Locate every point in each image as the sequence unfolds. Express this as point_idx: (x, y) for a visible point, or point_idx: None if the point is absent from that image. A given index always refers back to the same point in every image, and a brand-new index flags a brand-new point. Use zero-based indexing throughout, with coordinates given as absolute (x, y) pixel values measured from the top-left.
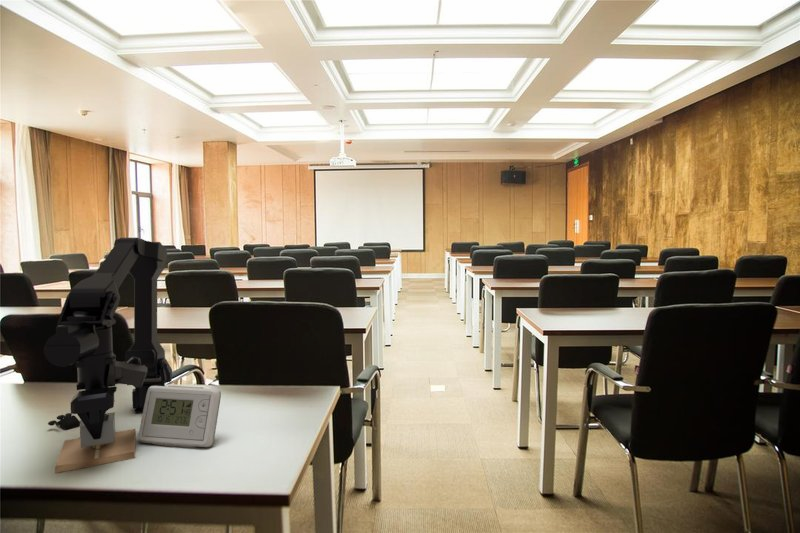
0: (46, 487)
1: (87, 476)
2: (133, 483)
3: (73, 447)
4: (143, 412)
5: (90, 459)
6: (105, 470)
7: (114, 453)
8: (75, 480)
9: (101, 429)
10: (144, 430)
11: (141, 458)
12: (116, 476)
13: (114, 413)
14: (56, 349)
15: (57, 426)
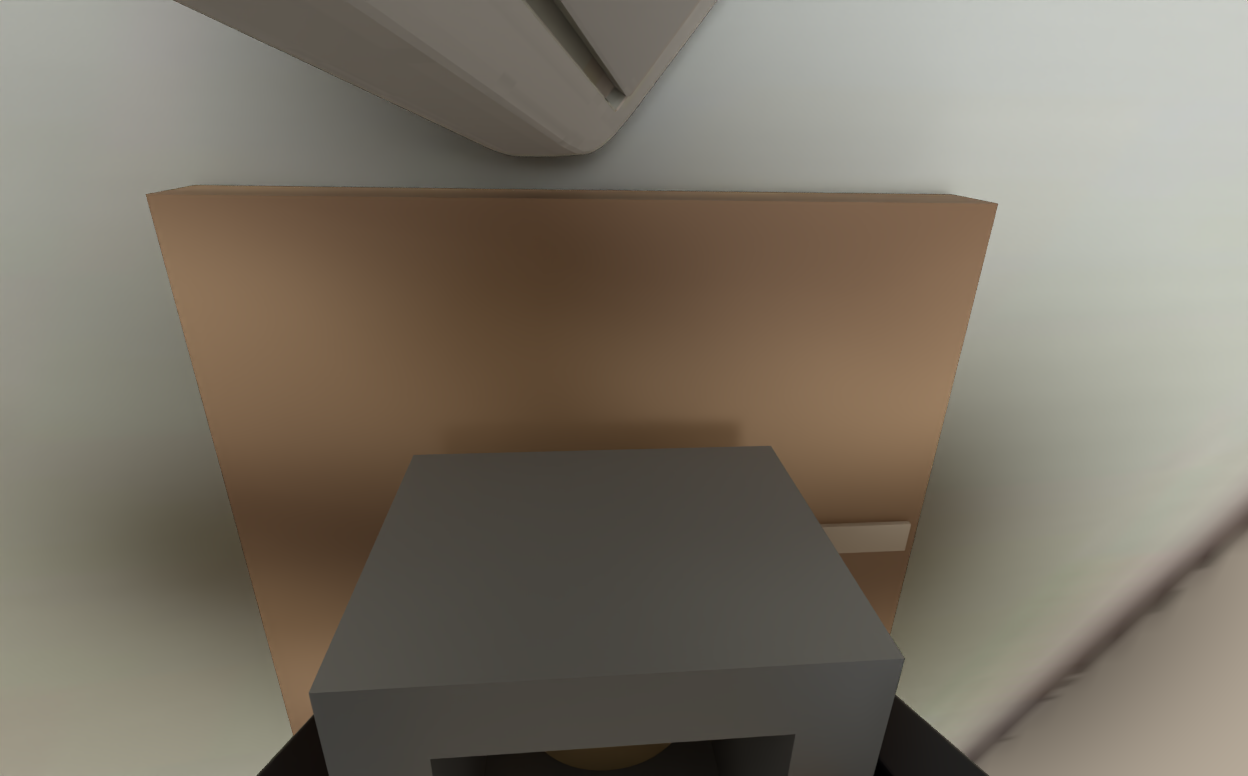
0: (1023, 707)
1: (1047, 530)
2: None
3: None
4: (410, 17)
5: (898, 570)
6: (1038, 426)
7: (905, 400)
8: (1052, 588)
9: (901, 708)
10: (627, 55)
11: (1012, 124)
12: (1226, 340)
13: (369, 679)
14: None
15: None
